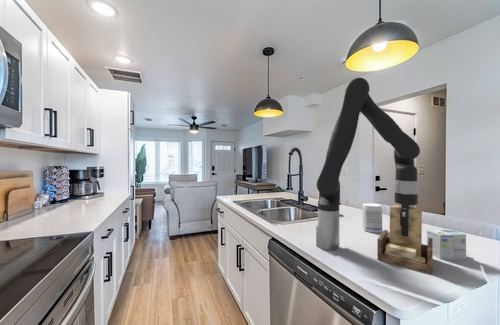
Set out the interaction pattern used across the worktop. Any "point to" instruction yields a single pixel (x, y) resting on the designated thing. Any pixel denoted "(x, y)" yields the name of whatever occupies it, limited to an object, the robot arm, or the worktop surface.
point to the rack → (425, 253)
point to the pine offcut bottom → (418, 259)
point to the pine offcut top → (401, 251)
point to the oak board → (413, 230)
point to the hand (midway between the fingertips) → (405, 234)
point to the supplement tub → (372, 217)
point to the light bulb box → (448, 244)
